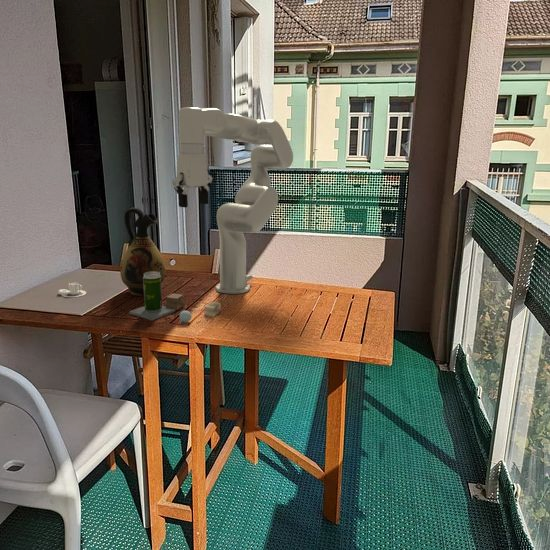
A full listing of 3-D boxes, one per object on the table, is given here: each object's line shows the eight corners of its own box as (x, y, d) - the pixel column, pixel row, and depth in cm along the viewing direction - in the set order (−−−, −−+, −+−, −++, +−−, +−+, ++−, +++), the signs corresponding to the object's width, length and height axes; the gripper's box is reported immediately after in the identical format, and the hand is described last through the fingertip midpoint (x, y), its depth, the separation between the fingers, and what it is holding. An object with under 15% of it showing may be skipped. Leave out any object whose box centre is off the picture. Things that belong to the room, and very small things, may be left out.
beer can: (162, 306, 158) (160, 270, 154) (162, 312, 153) (160, 275, 149) (144, 307, 156) (142, 271, 153) (144, 313, 151) (142, 276, 148)
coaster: (153, 305, 161) (153, 303, 161) (175, 311, 156) (175, 309, 156) (129, 313, 153) (129, 311, 153) (151, 320, 148) (151, 318, 148)
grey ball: (185, 319, 150) (184, 308, 149) (194, 321, 148) (193, 310, 147) (176, 322, 147) (176, 311, 146) (185, 325, 145) (185, 313, 144)
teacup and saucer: (54, 296, 169) (53, 285, 168) (71, 290, 176) (70, 279, 175) (75, 299, 166) (74, 288, 165) (91, 293, 173) (90, 282, 172)
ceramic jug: (173, 288, 180) (170, 207, 172) (152, 300, 166) (148, 212, 158) (132, 283, 184) (128, 204, 176) (108, 295, 170) (102, 209, 162)
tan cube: (172, 304, 162) (172, 293, 161) (183, 306, 161) (183, 294, 160) (166, 308, 159) (166, 296, 158) (177, 310, 158) (177, 298, 157)
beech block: (212, 310, 158) (212, 301, 157) (220, 311, 157) (220, 303, 156) (204, 315, 154) (204, 306, 153) (213, 316, 153) (213, 307, 152)
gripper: (201, 149, 159) (203, 201, 164) (162, 149, 146) (165, 207, 150) (219, 149, 156) (220, 203, 160) (181, 150, 142) (183, 209, 146)
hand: (193, 205), depth 155 cm, fingers open, 9 cm apart
